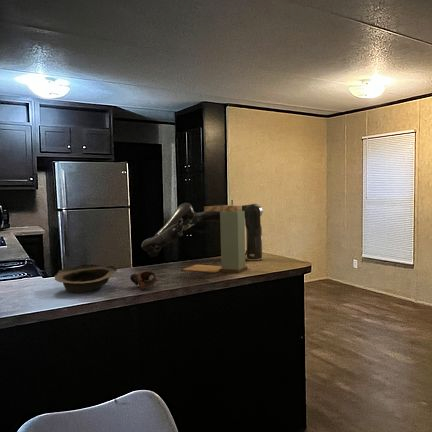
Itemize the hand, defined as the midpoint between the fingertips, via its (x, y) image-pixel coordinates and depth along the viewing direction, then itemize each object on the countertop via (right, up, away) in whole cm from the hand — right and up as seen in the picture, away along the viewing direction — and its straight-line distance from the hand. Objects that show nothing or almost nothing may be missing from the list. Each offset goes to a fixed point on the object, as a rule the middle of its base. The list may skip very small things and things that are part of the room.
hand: (193, 219), depth 237 cm
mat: (+7, -26, -1) cm, 27 cm away
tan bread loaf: (+17, +4, -7) cm, 19 cm away
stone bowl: (-38, -30, -43) cm, 65 cm away
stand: (+22, -27, -6) cm, 35 cm away
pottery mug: (-13, -30, -41) cm, 52 cm away
